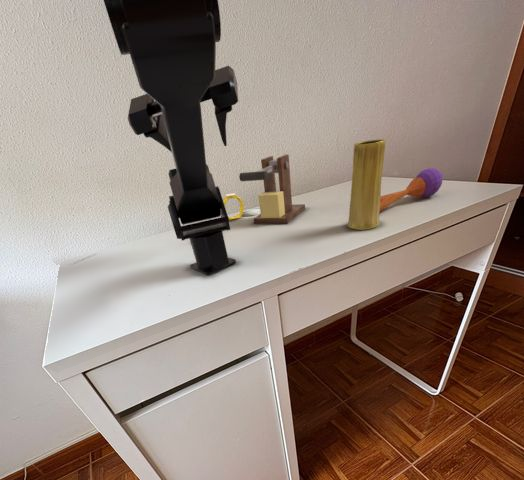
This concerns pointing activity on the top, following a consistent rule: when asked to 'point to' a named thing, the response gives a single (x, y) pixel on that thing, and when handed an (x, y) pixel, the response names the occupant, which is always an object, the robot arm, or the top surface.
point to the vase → (366, 184)
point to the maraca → (416, 187)
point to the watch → (239, 202)
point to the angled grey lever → (260, 172)
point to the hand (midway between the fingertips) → (203, 151)
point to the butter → (272, 204)
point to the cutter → (284, 185)
